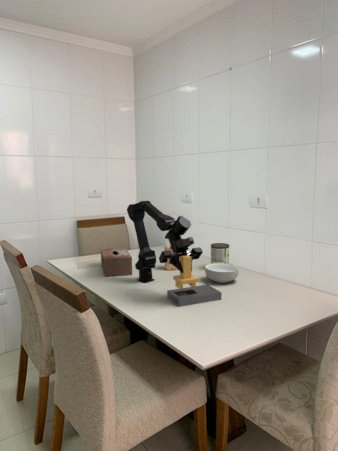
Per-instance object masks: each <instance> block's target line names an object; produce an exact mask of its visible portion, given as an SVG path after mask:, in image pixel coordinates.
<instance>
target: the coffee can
mask: <svg viewBox="0 0 338 451" xmlns="http://www.w3.org/2000/svg"><path fill="white" fill-rule="evenodd" d="M214 263H224V264H230V244H228V243H223V242H215V243H214V242H213V243H211V244H210V264H214Z"/></svg>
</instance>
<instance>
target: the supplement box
mask: <svg viewBox="0 0 338 451" xmlns="http://www.w3.org/2000/svg"><path fill="white" fill-rule="evenodd" d="M170 246H171V245H164V251H169V250H170V251H171V253H172V252H173V251H172V249H170ZM179 260H180V257H179ZM169 261H170V259H169V258H168V261H167V263H164V270H166V271H173V270H178V269H177V268H176V267H175V266H173V265H172V264H169Z"/></svg>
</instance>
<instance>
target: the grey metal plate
mask: <svg viewBox="0 0 338 451" xmlns="http://www.w3.org/2000/svg"><path fill="white" fill-rule="evenodd" d="M166 292H167V294H166V296H167V298H168V299H169V300H170V301H171V302H172V303H174V304H175V305H176V306H178V307H184V306H190V305H195V304H203V303H207V302H212V301H214V302H215V301H219V300H222V292H221V291H219V290H218V289H216V288H215V287H213V286H211V285H209V284H201V285H196V287H192V286H188V287H183V289H179V288H175V289H169V290H167V291H166Z"/></svg>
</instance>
